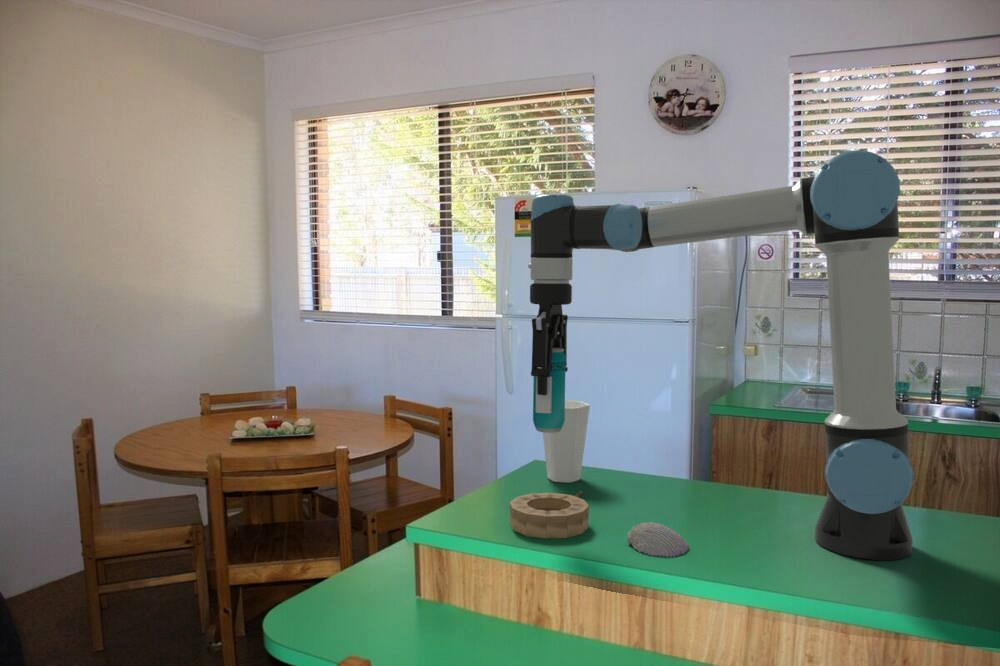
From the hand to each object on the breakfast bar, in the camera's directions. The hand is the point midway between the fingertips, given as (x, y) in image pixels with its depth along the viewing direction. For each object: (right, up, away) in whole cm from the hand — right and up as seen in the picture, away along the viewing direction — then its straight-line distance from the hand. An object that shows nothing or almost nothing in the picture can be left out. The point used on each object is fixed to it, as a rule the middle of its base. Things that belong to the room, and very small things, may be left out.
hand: (549, 409), depth 140 cm
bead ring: (0, -21, +2) cm, 22 cm away
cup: (+5, -19, +34) cm, 39 cm away
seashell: (+18, -23, -9) cm, 30 cm away
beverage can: (0, -4, 0) cm, 4 cm away
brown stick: (+5, -20, +15) cm, 26 cm away
